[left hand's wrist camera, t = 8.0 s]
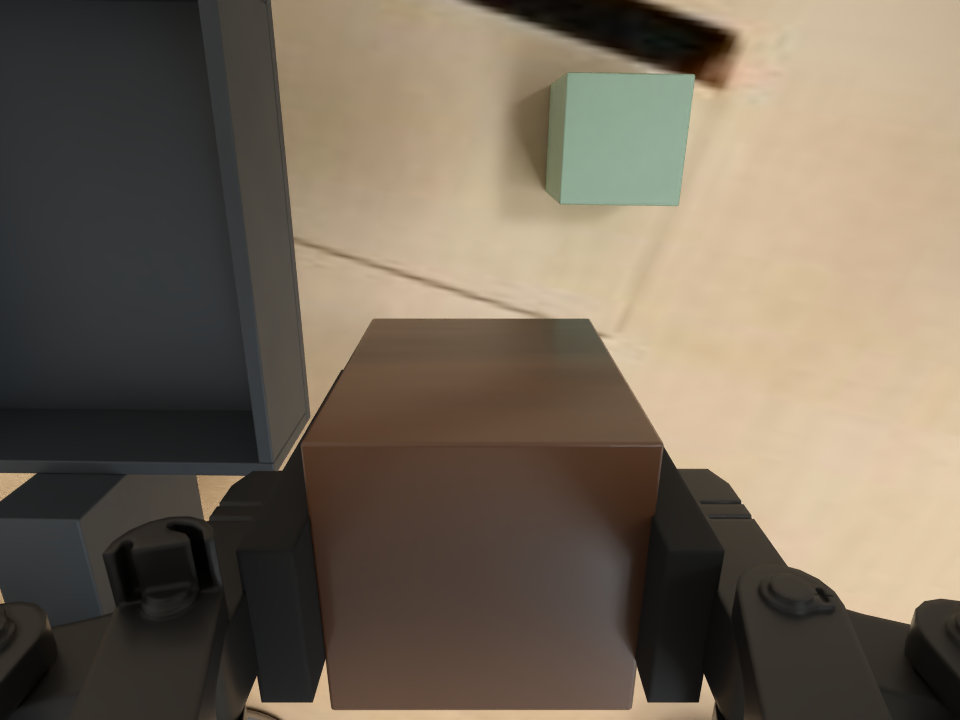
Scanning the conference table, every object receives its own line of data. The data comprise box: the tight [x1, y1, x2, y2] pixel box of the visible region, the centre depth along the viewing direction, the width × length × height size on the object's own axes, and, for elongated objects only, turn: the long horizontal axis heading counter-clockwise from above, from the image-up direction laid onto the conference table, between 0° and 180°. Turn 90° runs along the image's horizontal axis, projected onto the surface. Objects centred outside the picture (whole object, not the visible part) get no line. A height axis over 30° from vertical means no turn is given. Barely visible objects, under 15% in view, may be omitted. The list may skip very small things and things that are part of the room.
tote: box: [0, 0, 310, 627], centre depth 20 cm, size 26×13×7 cm, turn 179°
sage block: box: [545, 72, 695, 206], centre depth 27 cm, size 5×5×6 cm
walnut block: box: [301, 319, 664, 710], centre depth 12 cm, size 5×5×6 cm
